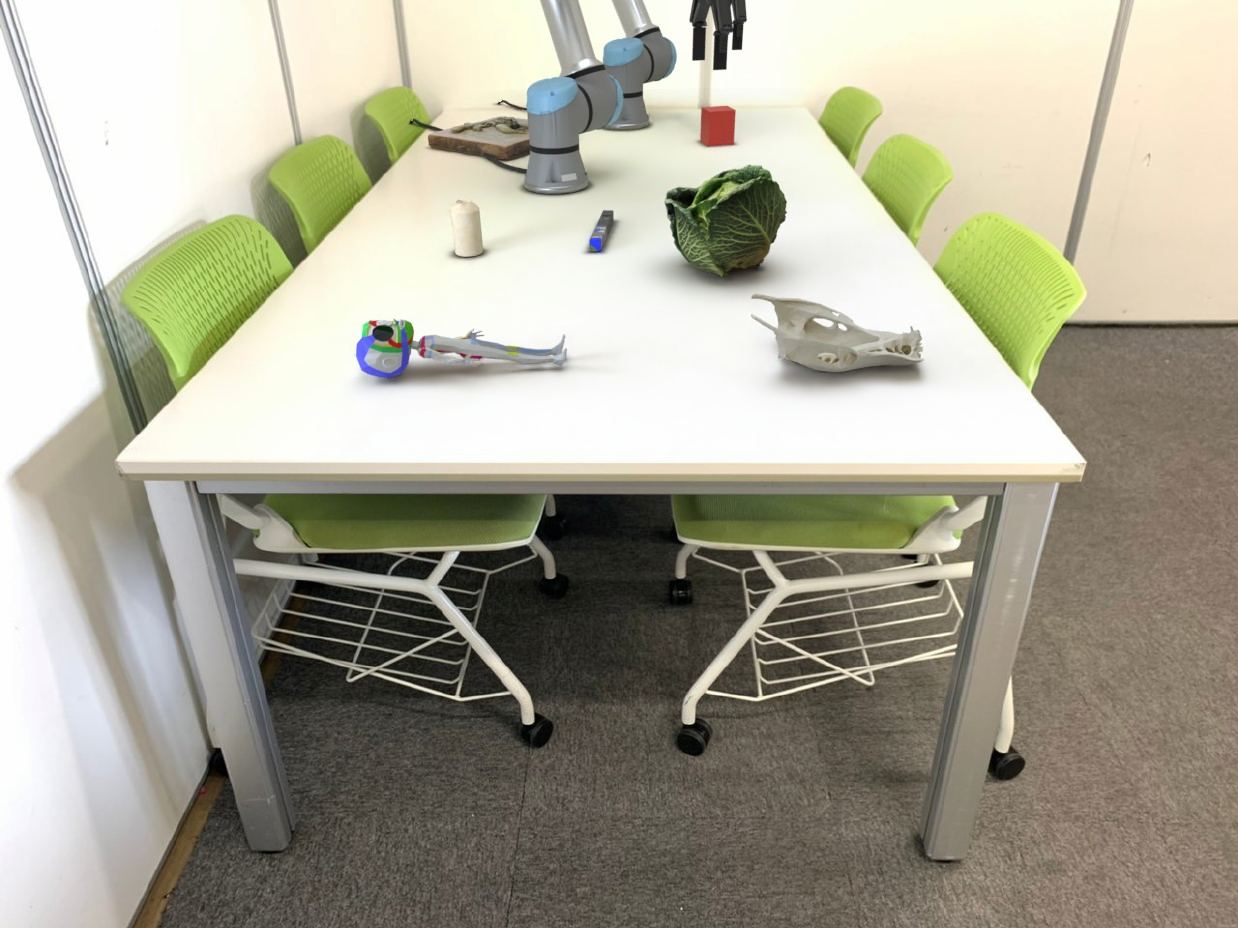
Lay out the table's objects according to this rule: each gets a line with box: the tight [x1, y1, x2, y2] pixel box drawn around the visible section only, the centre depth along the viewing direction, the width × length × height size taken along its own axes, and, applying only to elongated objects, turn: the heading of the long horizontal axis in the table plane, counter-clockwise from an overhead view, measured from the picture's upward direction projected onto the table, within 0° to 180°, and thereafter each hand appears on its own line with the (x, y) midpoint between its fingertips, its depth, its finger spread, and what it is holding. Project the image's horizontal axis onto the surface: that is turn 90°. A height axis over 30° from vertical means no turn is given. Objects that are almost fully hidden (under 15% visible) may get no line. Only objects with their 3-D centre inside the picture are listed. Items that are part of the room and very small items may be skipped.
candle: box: [449, 199, 484, 258], centre depth 172 cm, size 6×6×10 cm
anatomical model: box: [750, 293, 925, 373], centre depth 129 cm, size 15×9×25 cm
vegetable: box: [664, 164, 788, 278], centre depth 161 cm, size 20×19×20 cm
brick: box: [699, 105, 737, 147], centre depth 248 cm, size 8×7×9 cm
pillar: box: [588, 209, 615, 252], centre depth 182 cm, size 2×2×20 cm
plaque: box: [427, 115, 530, 161], centre depth 252 cm, size 30×7×30 cm
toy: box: [353, 318, 568, 379], centre depth 130 cm, size 10×8×30 cm
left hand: (708, 65), depth 192 cm, fingers open, 13 cm apart
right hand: (729, 46), depth 254 cm, fingers open, 13 cm apart
